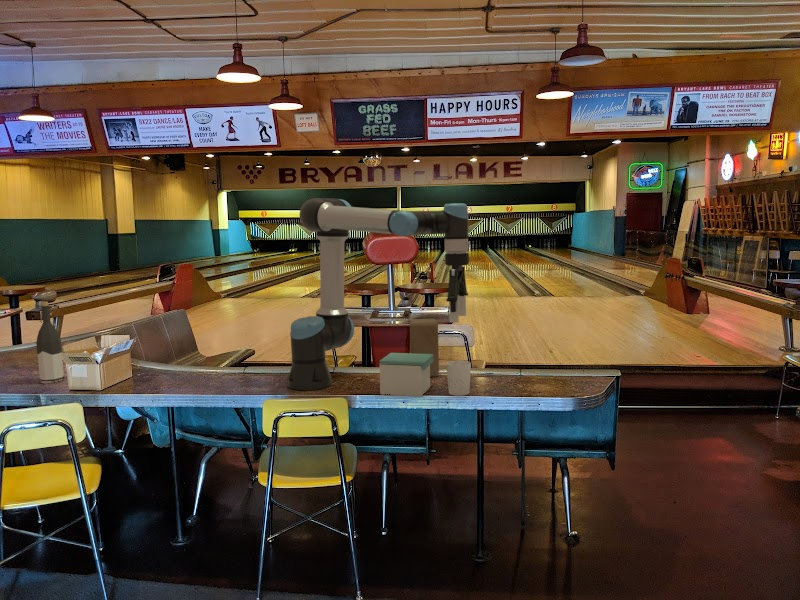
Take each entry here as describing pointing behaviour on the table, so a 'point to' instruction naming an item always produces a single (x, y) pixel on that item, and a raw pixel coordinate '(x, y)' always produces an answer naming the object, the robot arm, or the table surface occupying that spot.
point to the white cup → (458, 377)
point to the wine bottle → (49, 349)
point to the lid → (408, 359)
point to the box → (404, 379)
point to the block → (425, 341)
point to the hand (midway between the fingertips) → (458, 318)
